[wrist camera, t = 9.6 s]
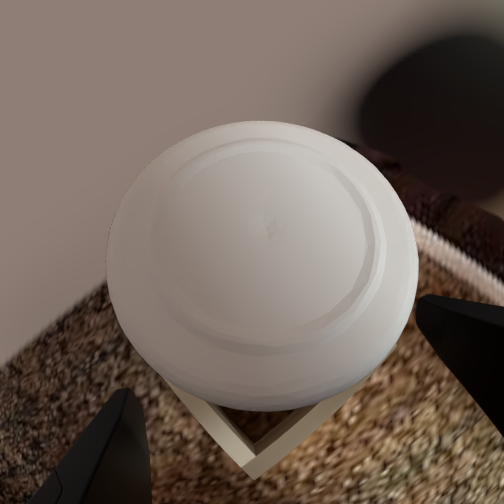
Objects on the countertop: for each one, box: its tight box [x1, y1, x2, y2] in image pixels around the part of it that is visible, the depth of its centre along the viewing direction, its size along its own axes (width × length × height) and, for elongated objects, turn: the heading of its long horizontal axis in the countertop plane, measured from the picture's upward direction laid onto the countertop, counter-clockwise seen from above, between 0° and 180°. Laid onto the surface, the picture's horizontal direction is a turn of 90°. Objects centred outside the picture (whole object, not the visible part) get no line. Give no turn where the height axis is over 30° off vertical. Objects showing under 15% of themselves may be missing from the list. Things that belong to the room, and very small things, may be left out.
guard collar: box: [164, 343, 398, 480], centre depth 15 cm, size 9×9×4 cm
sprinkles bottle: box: [106, 121, 419, 412], centre depth 10 cm, size 5×5×13 cm
